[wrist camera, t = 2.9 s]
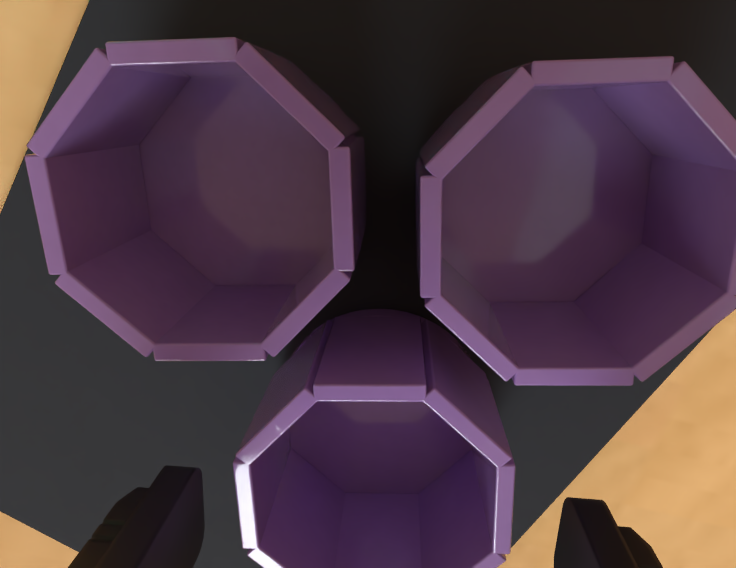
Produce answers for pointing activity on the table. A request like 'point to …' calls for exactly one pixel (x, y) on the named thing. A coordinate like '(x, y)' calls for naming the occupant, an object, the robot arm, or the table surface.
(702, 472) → the table surface
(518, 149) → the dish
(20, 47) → the table surface
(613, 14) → the mat
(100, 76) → the purple octagonal cup
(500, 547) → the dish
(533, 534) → the table surface
